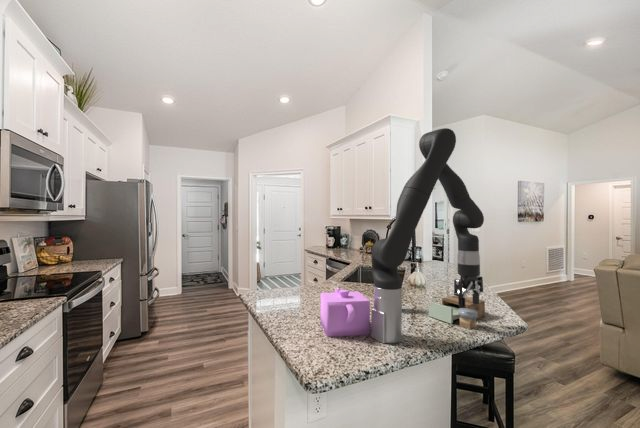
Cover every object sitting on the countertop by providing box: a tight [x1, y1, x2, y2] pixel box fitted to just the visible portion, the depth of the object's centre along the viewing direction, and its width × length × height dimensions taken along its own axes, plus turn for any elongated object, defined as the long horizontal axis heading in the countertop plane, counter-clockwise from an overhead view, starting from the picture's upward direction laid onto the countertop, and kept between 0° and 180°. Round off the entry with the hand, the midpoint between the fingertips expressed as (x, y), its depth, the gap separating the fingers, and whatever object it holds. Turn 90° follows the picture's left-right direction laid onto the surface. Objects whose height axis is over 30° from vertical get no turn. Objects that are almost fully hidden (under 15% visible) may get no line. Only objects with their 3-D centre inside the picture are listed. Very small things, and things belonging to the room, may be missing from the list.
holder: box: [441, 295, 486, 320], centre depth 122 cm, size 12×12×6 cm
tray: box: [428, 301, 460, 325], centre depth 117 cm, size 12×10×6 cm
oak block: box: [459, 316, 477, 330], centre depth 108 cm, size 4×4×4 cm
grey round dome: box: [459, 308, 479, 320], centre depth 108 cm, size 6×6×2 cm
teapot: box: [319, 286, 371, 338], centre depth 106 cm, size 15×25×14 cm, turn 10°
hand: (469, 305), depth 108 cm, fingers open, 8 cm apart
